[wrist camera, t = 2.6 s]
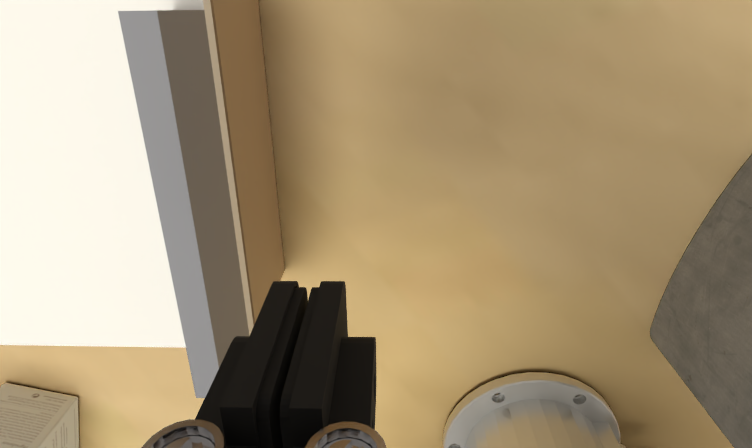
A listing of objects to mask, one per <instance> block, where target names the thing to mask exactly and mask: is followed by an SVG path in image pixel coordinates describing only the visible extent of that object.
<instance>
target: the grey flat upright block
mask: <svg viewBox="0 0 752 448" xmlns="http://www.w3.org/2000/svg"><path fill="white" fill-rule="evenodd" d="M650 336H651V339H652V341H653V342H654V343H655V345H656V346H657V347H658V349H659V350H660V351H661V353H662V354H663V355H664V357H665V358H666V359H667V360H668V362H669V363H670V364H671V366H672V367H673V368H674V370H675V371H676V372H677V374H678V375H679V376H680V377H681V379H682V380H683V381H684V383H685V384H686V385H687V387H688V388H689V389H690V391H691V392H692V393H693V394H694V396H695V397H696V398H697V400H698V401H699V402H700V404H701V405H702V406H703V408H704V409H705V410H706V411H707V413H708V414H709V415H710V417H711V418H712V419H713V421H714V422H715V423H716V425H717V426H718V427H719V428H720V430H721V431H722V432H723V434H724V435H725V436H726V438H727V439H728V440H729V441H730V443H731V444H732V445H733V447H734V448H752V155H751V156H750V157H749V159H748V160H747V161H746V162H745V163H744V165H743V166H742V167H741V168H740V170H739V171H738V172H737V174H736V175H735V176H734V178H733V179H732V180H731V182H730V183H729V184H728V186H727V187H726V188H725V190H724V191H723V193H722V194H721V196H720V197H719V198H718V200H717V201H716V203H715V204H714V206H713V207H712V209H711V210H710V212H709V213H708V215H707V216H706V218H705V219H704V221H703V223H702V224H701V226H700V227H699V229H698V231H697V232H696V234H695V236H694V237H693V239H692V241H691V242H690V244H689V246H688V247H687V249H686V251H685V253H684V254H683V256H682V258H681V260H680V262H679V264H678V265H677V267H676V269H675V271H674V273H673V275H672V277H671V279H670V281H669V283H668V286H667V288H666V290H665V292H664V294H663V297H662V299H661V301H660V304H659V306H658V309H657V312H656V314H655V317H654V320H653V323H652V325H651V329H650Z"/></svg>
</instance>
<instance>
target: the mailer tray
mask: <svg viewBox="0 0 752 448" xmlns="http://www.w3.org/2000/svg"><path fill="white" fill-rule="evenodd" d="M210 2H211V10H212V17H213V25H214V32H215V40H216V47H217V55H218V62H219V70H220V77H221V85H222V92H223V100H224V107H225V115H226V122H227V130H228V137H229V145H230V152H231V160H232V167H233V175H234V182H235V190H236V197H237V205H238V212H239V220H240V227H241V235H242V242H243V250H244V257H245V265H246V272H247V280H248V287H249V295H250V302H251V310H252V317H253V325H254V324H255V322H256V320H257V317H258V315H259V313H260V310H261V308H262V306H263V303H264V301H265V299H266V296H267V294H268V292H269V289H270V287H271V284H272V283H273V281H280V280H281V278H282V275H283V273H284V271H285V267H284V256H283V246H282V236H281V226H280V216H279V205H278V195H277V185H276V175H275V165H274V154H273V144H272V134H271V124H270V114H269V104H268V93H267V83H266V73H265V63H264V53H263V42H262V32H261V22H260V12H259V2H258V0H210Z"/></svg>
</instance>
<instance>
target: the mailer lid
mask: <svg viewBox="0 0 752 448" xmlns="http://www.w3.org/2000/svg"><path fill="white" fill-rule="evenodd" d="M253 327H254V325H253V317H252V310H251V302H250V295H249V287H248V280H247V272H246V265H245V257H244V250H243V242H242V235H241V227H240V220H239V212H238V205H237V197H236V190H235V182H234V175H233V167H232V160H231V152H230V145H229V137H228V130H227V122H226V115H225V107H224V100H223V92H222V85H221V77H220V70H219V62H218V55H217V47H216V40H215V32H214V25H213V17H212V10H211V2H210V0H0V345H46V346H118V347H186V350H187V355H188V360H189V365H190V370H191V375H192V380H193V385H194V390H195V395H196V398H205V397H206V395H207V393H208V391H209V389H210V387H211V384H212V382H213V380H214V378H215V376H216V374H217V372H218V370H219V367H220V365H221V363H222V361H223V359H224V357H225V355H226V353H227V350H228V348H229V346H230V344H231V342H232V340H233V339H234V338H235V337H236V336H250V334H251V332H252V329H253Z"/></svg>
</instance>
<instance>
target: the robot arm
mask: <svg viewBox="0 0 752 448" xmlns="http://www.w3.org/2000/svg"><path fill="white" fill-rule="evenodd" d="M375 407H376V339H375V337H348V331H347V309H346V288H345V282H344V281H322V282H321V284H320V287H313V288H312V289H311V293H310V296H309V300H308V299H307V290H306V288H305V287H299V285H298V282H297V281H273V283H272V284H271V287H270V289H269V292H268V294H267V296H266V299H265V301H264V303H263V306H262V308H261V310H260V313H259V315H258V317H257V320H256V322H255V324H254V327H253V329H252V332H251V334H250V336H236V337H235V338H234V339H233V340H232V342H231V344H230V346H229V348H228V350H227V353H226V355H225V357H224V359H223V361H222V363H221V365H220V367H219V370H218V372H217V374H216V376H215V378H214V380H213V382H212V384H211V387H210V389H209V391H208V393H207V395H206V397H205V399H204V401H203V404H202V406H201V408H200V410H199V412H198V414H197V416H196V418H195V420H185V421H181V422H176V423H174V424H172V425H169V426H167V427H165V428H163V429H162V430H160V431H159V432H157V433H156V434H154V435H153V436H152V437H151V438H150V439H149V440H148V441H147V442H146V443H145V444H144V445H143V447H142V448H386V445H385V442H384V440H383V438H382V437H381V436H380V435H379V434H378V432H377V431H375ZM620 437H621V435H620V430H619V426H618V422H617V420H616V418H615V416H614V414H613V412H612V410H611V408H610V407H609V406H608V404H607V403H606V401H605V400H604V399H603V397H602V396H600V395H599V394H598V393H597V392H596V391H595V390H594V389H593V388H591V387H589V386H587V385H586V384H584V383H582V382H580V381H578V380H575V379H573V378H570V377H567V376H564V375H558V374H553V373H546V372H527V373H520V374H512V375H508V376H505V377H502V378H498V379H495V380H493V381H490V382H488V383H486V384H484V385H482V386H480V387H478V388H477V389H475V390H474V391H472V392H471V393H469V394H468V395H467V396H466V397H465V398H464V399H463V400H462V401H460V402H459V403H458V404H457V405H456V407H455V408H454V410H453V411H452V413H451V414H450V416H449V417H448V420H447V422H446V425H445V428H444V433H443V448H626V447H625V446H624V445H623V444H620Z"/></svg>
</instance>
